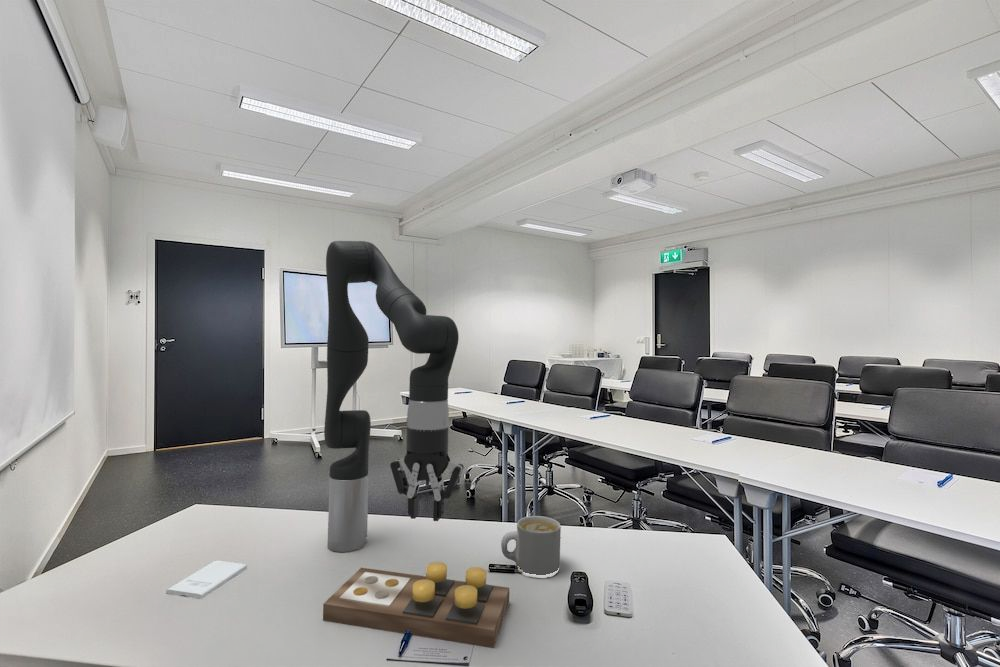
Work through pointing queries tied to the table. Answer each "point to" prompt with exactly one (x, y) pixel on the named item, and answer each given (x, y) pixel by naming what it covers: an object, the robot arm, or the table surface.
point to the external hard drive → (207, 579)
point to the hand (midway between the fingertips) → (425, 517)
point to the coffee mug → (535, 545)
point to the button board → (417, 608)
